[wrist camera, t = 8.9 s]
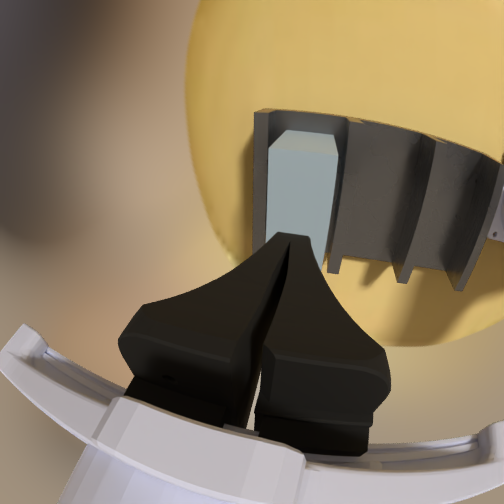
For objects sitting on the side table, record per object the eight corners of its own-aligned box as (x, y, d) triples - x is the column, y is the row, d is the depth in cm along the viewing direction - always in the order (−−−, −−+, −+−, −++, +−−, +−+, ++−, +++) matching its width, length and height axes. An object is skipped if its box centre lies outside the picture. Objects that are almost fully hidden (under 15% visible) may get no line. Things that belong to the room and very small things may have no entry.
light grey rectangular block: (333, 135, 15) (338, 155, 11) (322, 231, 19) (318, 284, 15) (286, 130, 16) (268, 148, 11) (281, 225, 20) (264, 276, 15)
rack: (485, 153, 13) (509, 167, 10) (450, 265, 19) (462, 291, 16) (264, 108, 16) (252, 112, 14) (261, 236, 22) (251, 261, 19)
